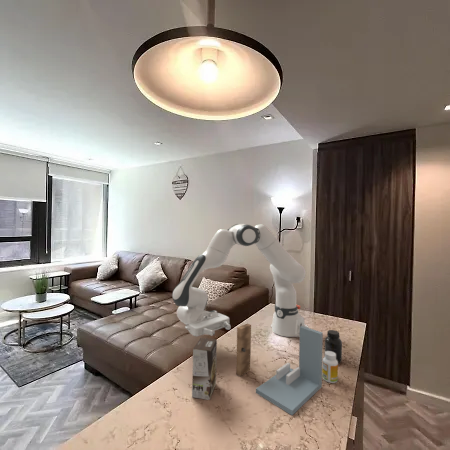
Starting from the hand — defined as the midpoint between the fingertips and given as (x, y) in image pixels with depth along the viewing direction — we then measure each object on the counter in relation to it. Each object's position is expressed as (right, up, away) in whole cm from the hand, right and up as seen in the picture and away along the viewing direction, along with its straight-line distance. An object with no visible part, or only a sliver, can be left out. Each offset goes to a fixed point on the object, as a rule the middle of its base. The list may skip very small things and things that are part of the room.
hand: (221, 330), depth 107 cm
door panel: (+9, -13, -9) cm, 18 cm away
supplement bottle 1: (+48, -14, +2) cm, 50 cm away
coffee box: (-6, -13, -20) cm, 24 cm away
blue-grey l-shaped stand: (+24, -13, -19) cm, 33 cm away
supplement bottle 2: (+41, -14, -12) cm, 45 cm away
